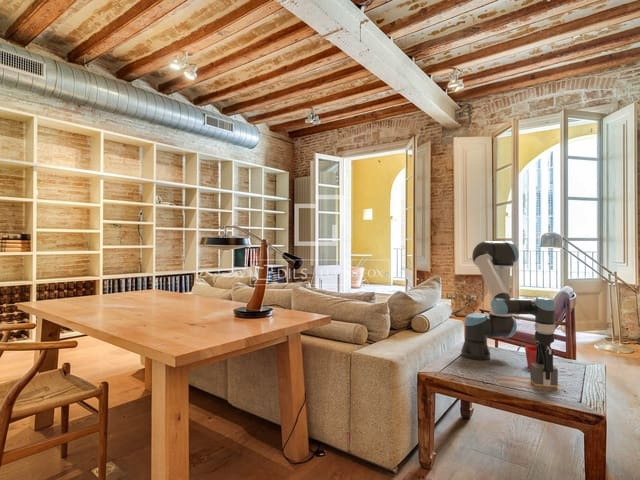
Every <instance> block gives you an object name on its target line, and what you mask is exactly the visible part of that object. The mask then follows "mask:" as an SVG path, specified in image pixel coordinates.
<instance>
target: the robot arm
mask: <svg viewBox="0 0 640 480" xmlns="http://www.w3.org/2000/svg"><path fill="white" fill-rule="evenodd" d="M471 255H472V257H471V258H472V262H473V264H474V265H475V267H477V268H478V269H479V272H480V274H481V276H482V278H483V280H484V283H485V284H486V286H487V290H488V291H489V294H490V295H491V297H492V299H491V301H490V307H491V310H490V311H489V313H488V314H489V315H487V314H486V313H482V312H480V313H479V312H475V313H469V314H467V315H466V316H465V317H464V341H463V344H462V346H461V351H460V355H461V356H462V357H464V358H466V359H470V360H477V361H487V360H489V359H491V351H490V349H489V345H488V338H501V339H504V338H505V339H507V338H512V337H513V336H514V335H515V333H517V327H518V325H517V324H518V323H517V320H516V318H515V317H514V316H513V315H529V316H534V317H535V318H534V320H535V321H534V324H533V326H534V330H535V332H534V339H535V345H536V346H535V347H536V362H537V364H544V370H542V371H543V386H548V387H550V382H551V372H553V366H554V350H553V349H552V347H551V344H552V343H554V342H555V332H556V331H555V329H556V327H555V326H556V323H555V320H556V301H555V299H554V298H552V297H545V296H538V297H536V298H534V297H527V296H524V297H521V298H513V297H511V296H510V295H511V293H510V292H511V288H510V287H511V269H512V268H513V267H514V263H516V262H518V259H519V255H520V254H519V250H518V247H517V245H516V243H514V242H513V241H510V240H509V241H508V240H507V241H506V240H494V241H491V240H485V241H484V240H483V241H481V242H480V243H477V245H475V247H474V249H473V250H472V254H471Z"/></svg>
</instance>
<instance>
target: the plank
mask: <svg viewBox="0 0 640 480" xmlns="http://www.w3.org/2000/svg"><path fill="white" fill-rule="evenodd" d="M493 376H494V378H495V379H496V381H497V383H498V384H499V385H500V386H501V387H511V388H521V389H534V390H546V391H559V392H564V394H566V392H567V391H566V390H565V389H564V388H563V387H562V386H561V385H560V384H559V383H558V387H547V386H535V385H534V384H533V383H532V381H531V380H530V379H531V377H528V376H527V377H526V376H525V377H524V376H511V375H500V374H499V375H498V374H493Z"/></svg>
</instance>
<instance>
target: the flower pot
mask: <svg viewBox="0 0 640 480" xmlns="http://www.w3.org/2000/svg"><path fill="white" fill-rule="evenodd" d="M524 348H525V350H524V351H525V356H526V364H527V367H528V368H529V369H531V363H535V364H537V362H536V346H535V345H528V346H525V347H524Z"/></svg>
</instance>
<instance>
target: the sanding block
mask: <svg viewBox="0 0 640 480" xmlns="http://www.w3.org/2000/svg"><path fill="white" fill-rule="evenodd" d="M542 370H544V364H535V363H531V368H530V378H531V379H530V380H531V381H532V383H533V384H534V385H535V386H543V371H542ZM558 372H559V369H558V368H557V367H555V365H553V372H551V382H550V387H558V384H559V382H558V381H559V380H558V378H559V373H558ZM547 387H548V386H547Z"/></svg>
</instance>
